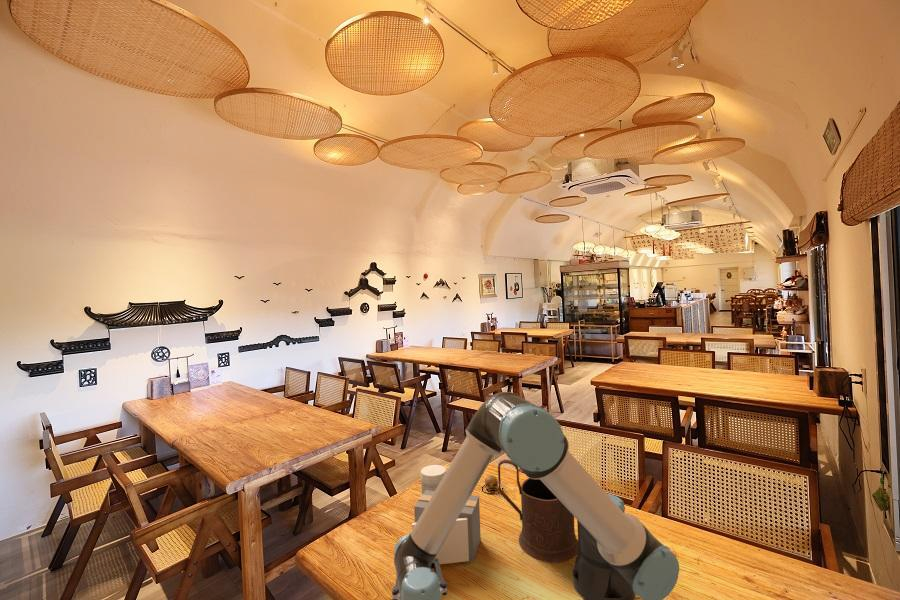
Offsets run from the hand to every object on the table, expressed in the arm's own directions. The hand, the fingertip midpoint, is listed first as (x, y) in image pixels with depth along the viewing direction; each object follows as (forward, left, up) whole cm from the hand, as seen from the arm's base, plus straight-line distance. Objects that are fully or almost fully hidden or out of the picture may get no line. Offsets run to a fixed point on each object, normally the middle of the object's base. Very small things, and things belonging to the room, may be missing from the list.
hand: (417, 547), depth 106 cm
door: (-7, -3, -6) cm, 9 cm away
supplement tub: (+20, -23, -7) cm, 31 cm away
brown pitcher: (-17, -34, -7) cm, 39 cm away
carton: (+2, -13, -7) cm, 15 cm away
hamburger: (+14, -49, -8) cm, 52 cm away
